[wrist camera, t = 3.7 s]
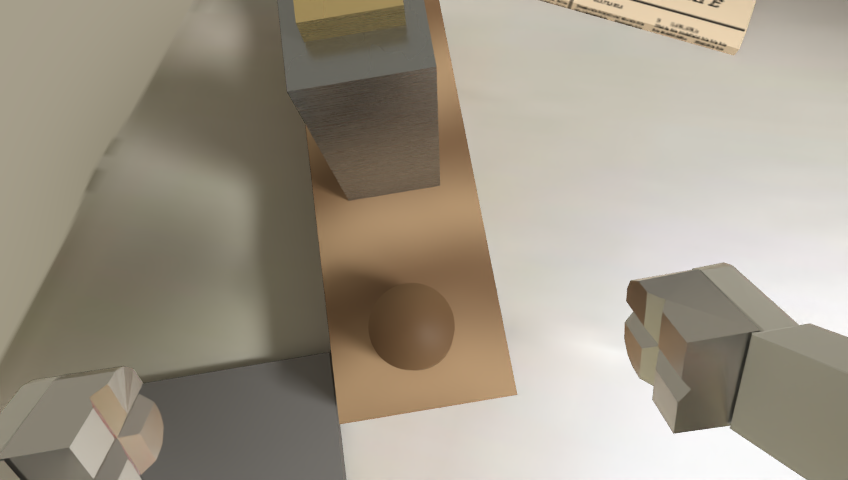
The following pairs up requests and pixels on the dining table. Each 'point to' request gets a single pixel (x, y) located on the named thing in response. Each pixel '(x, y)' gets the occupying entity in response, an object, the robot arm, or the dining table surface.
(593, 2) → the newspaper
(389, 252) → the plane body
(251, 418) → the pad
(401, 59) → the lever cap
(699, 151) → the dining table surface
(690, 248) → the dining table surface
